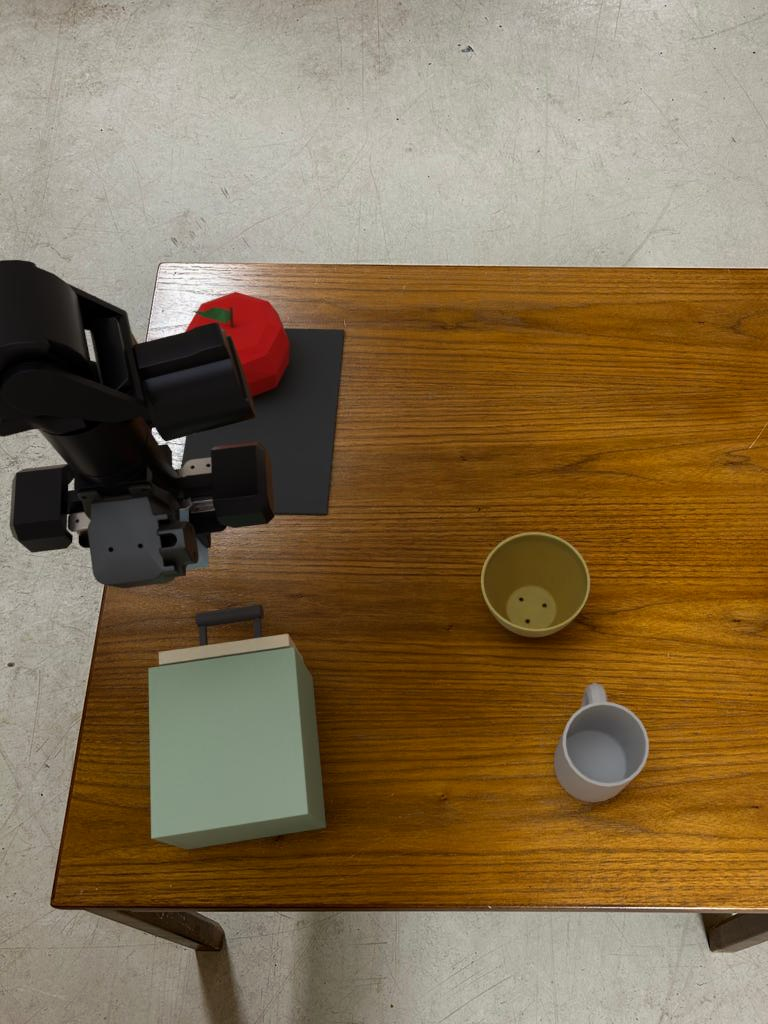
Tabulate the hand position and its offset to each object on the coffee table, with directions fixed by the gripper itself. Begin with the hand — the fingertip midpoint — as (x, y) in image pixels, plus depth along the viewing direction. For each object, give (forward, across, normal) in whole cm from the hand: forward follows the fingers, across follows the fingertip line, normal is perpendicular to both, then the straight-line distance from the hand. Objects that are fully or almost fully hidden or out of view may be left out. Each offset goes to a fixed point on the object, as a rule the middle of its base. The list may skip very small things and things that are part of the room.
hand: (182, 546), depth 69 cm
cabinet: (+13, +2, -16) cm, 21 cm away
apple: (+13, +4, +28) cm, 31 cm away
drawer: (+12, +2, -12) cm, 17 cm away
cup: (+13, +33, -20) cm, 41 cm away
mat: (+13, +5, +22) cm, 26 cm away
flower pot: (+13, +30, -5) cm, 33 cm away
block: (0, 0, 0) cm, 0 cm away
